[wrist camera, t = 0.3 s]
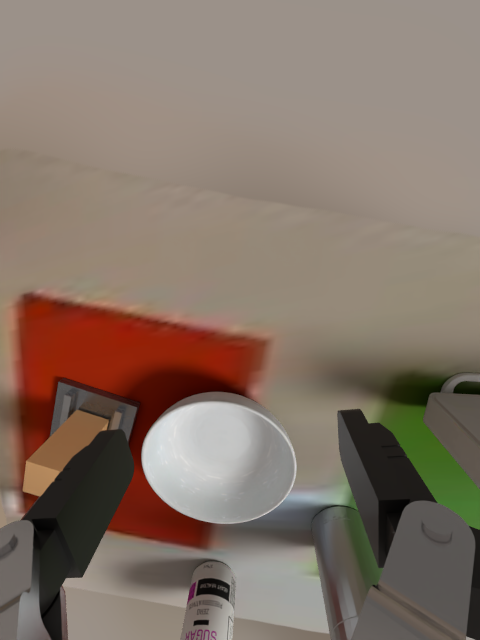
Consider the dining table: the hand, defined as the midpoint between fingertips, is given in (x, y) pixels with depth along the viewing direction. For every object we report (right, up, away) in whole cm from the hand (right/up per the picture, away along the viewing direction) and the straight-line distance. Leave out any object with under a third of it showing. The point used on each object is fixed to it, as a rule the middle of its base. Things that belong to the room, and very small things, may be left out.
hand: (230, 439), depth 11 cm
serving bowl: (-2, -13, +35) cm, 37 cm away
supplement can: (-4, -44, +45) cm, 63 cm away
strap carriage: (-24, -15, +35) cm, 45 cm away
